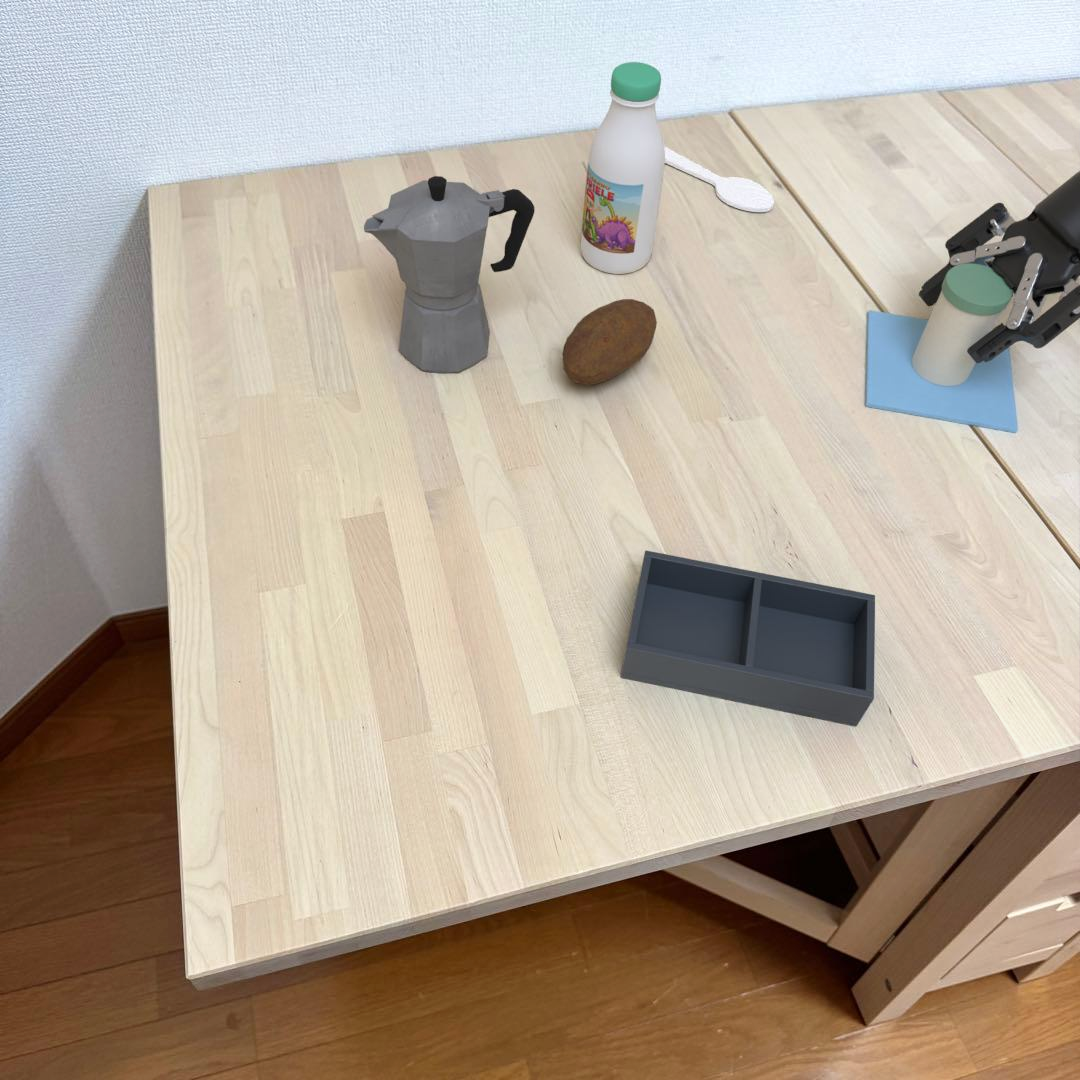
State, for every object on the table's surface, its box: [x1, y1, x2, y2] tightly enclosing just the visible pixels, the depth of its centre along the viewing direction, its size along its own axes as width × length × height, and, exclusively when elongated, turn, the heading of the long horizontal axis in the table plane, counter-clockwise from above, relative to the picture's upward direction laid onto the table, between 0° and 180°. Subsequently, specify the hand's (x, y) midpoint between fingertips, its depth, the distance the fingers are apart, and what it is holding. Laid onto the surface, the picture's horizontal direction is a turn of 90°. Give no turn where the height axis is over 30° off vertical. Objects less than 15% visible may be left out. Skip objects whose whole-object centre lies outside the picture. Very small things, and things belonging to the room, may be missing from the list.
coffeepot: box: [363, 175, 536, 374], centre depth 91 cm, size 15×9×18 cm, turn 110°
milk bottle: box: [580, 61, 666, 275], centre depth 100 cm, size 8×8×20 cm
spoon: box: [664, 145, 775, 213], centre depth 117 cm, size 5×18×1 cm, turn 48°
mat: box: [865, 309, 1019, 434], centre depth 98 cm, size 14×14×1 cm
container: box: [912, 264, 1014, 386], centre depth 94 cm, size 6×6×10 cm
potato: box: [561, 298, 658, 386], centre depth 94 cm, size 7×12×7 cm, turn 143°
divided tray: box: [620, 550, 876, 727], centre depth 76 cm, size 9×18×4 cm, turn 78°
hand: (946, 328), depth 94 cm, fingers open, 8 cm apart
